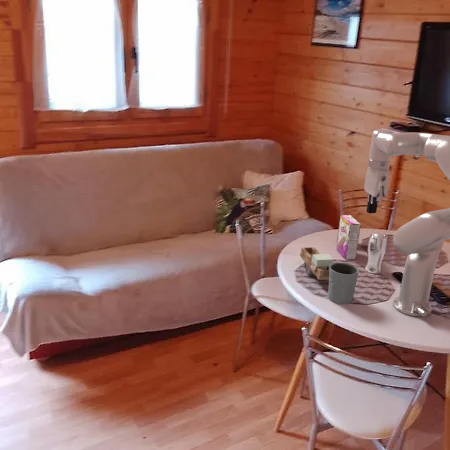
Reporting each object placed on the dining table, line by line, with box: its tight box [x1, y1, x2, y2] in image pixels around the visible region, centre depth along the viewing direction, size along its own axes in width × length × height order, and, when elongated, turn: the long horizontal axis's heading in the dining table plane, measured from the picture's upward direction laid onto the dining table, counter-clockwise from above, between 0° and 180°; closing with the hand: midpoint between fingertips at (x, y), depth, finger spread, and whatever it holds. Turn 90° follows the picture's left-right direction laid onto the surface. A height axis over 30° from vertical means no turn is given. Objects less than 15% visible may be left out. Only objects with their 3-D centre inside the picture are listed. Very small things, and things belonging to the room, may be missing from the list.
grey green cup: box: [327, 262, 360, 305], centre depth 176 cm, size 10×10×12 cm
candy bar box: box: [336, 214, 362, 261], centre depth 212 cm, size 11×5×16 cm, turn 9°
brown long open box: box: [299, 246, 330, 281], centre depth 195 cm, size 22×7×7 cm, turn 10°
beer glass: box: [364, 232, 388, 274], centre depth 199 cm, size 7×7×15 cm
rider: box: [312, 253, 335, 270], centre depth 188 cm, size 5×6×5 cm
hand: (371, 212), depth 185 cm, fingers closed
